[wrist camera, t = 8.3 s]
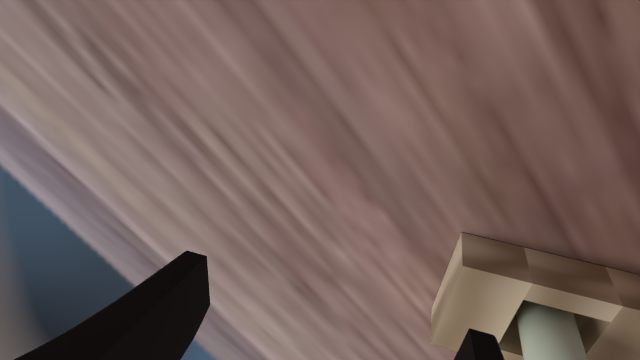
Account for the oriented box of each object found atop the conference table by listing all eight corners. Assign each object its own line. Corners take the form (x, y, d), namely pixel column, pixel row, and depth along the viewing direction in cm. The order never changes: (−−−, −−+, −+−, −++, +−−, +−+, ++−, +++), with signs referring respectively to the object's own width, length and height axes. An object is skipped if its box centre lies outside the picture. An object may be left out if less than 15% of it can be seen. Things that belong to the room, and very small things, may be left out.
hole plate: (675, 283, 20) (701, 326, 18) (612, 357, 23) (628, 400, 21) (461, 232, 21) (462, 265, 19) (431, 308, 25) (430, 344, 22)
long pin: (568, 279, 21) (616, 428, 15) (567, 314, 22) (612, 466, 16) (512, 279, 22) (536, 420, 16) (514, 314, 23) (537, 456, 17)
